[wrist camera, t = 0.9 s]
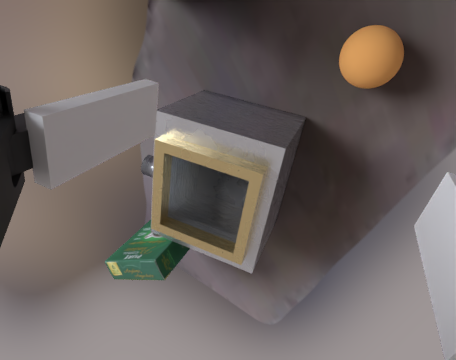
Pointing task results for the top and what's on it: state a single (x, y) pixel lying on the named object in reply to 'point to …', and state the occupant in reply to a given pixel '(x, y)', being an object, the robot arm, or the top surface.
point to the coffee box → (145, 257)
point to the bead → (371, 56)
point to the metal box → (220, 174)
